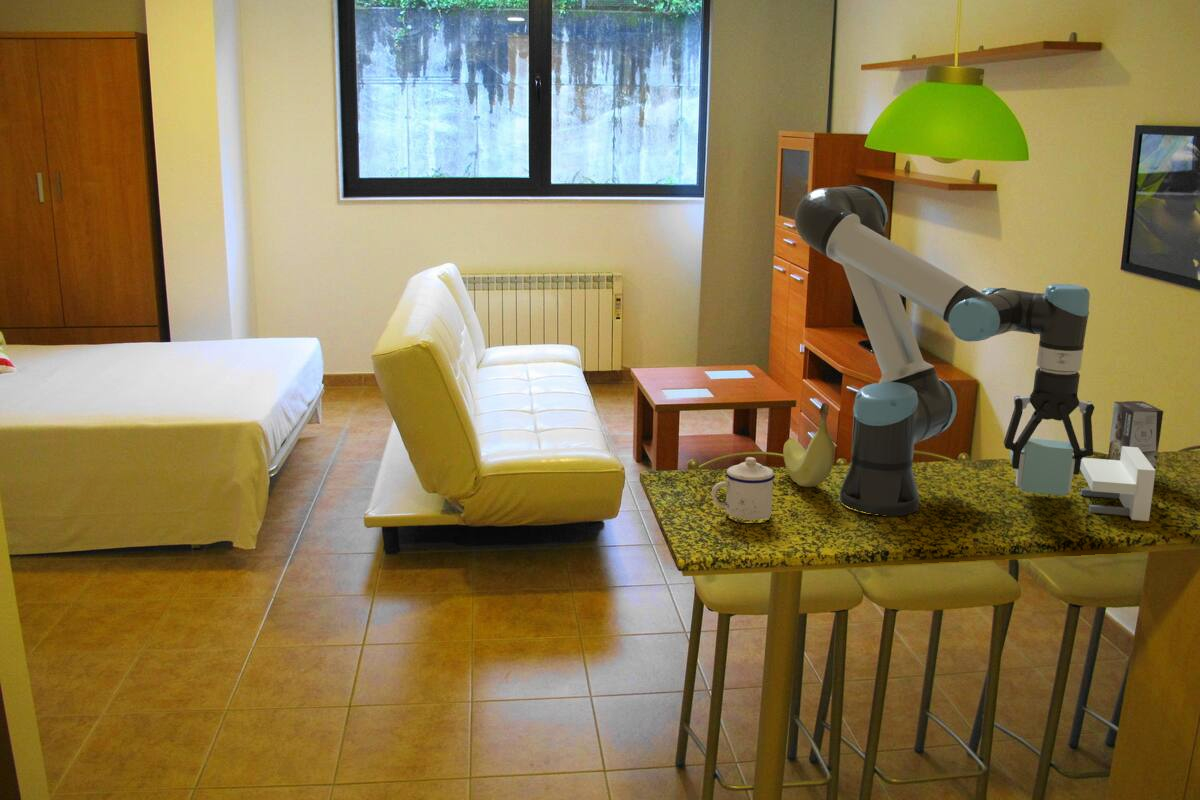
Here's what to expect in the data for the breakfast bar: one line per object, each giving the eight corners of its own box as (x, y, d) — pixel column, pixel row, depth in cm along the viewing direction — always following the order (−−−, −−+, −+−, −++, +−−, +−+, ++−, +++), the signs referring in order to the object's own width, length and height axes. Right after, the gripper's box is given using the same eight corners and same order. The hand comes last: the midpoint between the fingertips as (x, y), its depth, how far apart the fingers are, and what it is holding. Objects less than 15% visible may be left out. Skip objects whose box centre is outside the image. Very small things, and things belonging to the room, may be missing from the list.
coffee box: (1155, 486, 226) (1165, 411, 222) (1123, 486, 226) (1133, 410, 222) (1134, 472, 235) (1144, 400, 231) (1104, 472, 235) (1113, 400, 231)
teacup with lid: (762, 507, 212) (764, 450, 210) (780, 523, 204) (782, 463, 201) (703, 511, 210) (705, 453, 207) (719, 528, 201) (721, 467, 198)
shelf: (1088, 515, 208) (1094, 465, 206) (1076, 490, 223) (1081, 443, 221) (1148, 521, 206) (1155, 470, 203) (1132, 494, 221) (1138, 447, 218)
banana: (775, 469, 236) (779, 379, 231) (800, 468, 237) (805, 378, 232) (808, 503, 214) (814, 405, 210) (837, 502, 215) (843, 404, 210)
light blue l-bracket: (1067, 495, 202) (1073, 449, 199) (1021, 491, 204) (1027, 445, 201) (1051, 459, 223) (1056, 417, 221) (1009, 455, 225) (1014, 413, 223)
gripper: (999, 369, 198) (985, 488, 204) (1123, 378, 193) (1105, 500, 199) (996, 361, 205) (982, 475, 211) (1116, 369, 200) (1099, 487, 206)
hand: (1042, 487), depth 205 cm, fingers closed on light blue l-bracket, 8 cm apart
